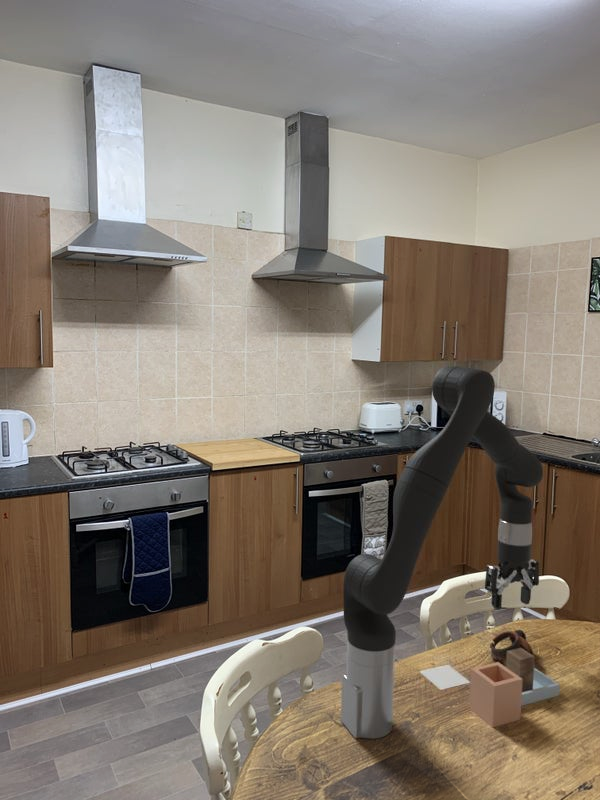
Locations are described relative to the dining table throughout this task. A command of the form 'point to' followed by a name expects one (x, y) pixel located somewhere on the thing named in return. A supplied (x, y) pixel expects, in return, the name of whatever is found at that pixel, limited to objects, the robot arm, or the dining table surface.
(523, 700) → the blue-grey tub
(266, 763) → the dining table surface
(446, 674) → the ceramic tile
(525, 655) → the walnut block
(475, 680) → the terracotta pot
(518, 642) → the dark brown looped piece
